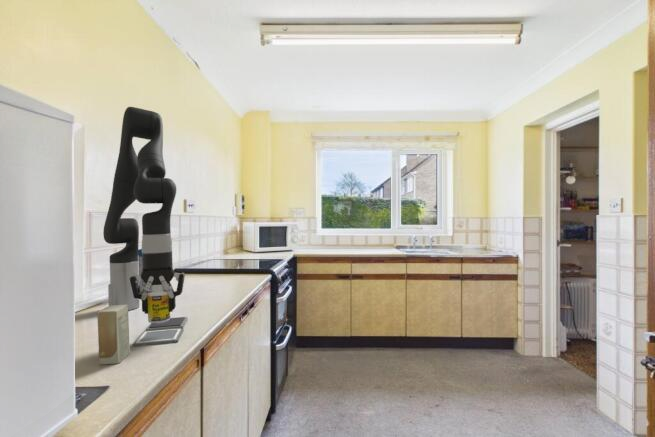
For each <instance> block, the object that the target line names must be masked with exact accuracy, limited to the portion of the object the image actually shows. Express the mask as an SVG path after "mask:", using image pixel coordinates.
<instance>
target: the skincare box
mask: <svg viewBox="0 0 655 437" xmlns="http://www.w3.org/2000/svg"><path fill="white" fill-rule="evenodd" d="M129 322H130V321H129V310H128V305H110V306H109V305H108V306H106V307H104V308H103V309H101V310H99V311H97V331H98V332H97V336H98V337H97V339H98V341H97V342H98V360H99V361H98V362H99V364H98V365H117V364H119V363H121V362H122V361H123V360H124V359H126V358H127V357H128V356H129V355H130V350H131V348H130V325H129V324H130V323H129Z"/></svg>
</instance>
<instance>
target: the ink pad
mask: <svg viewBox="0 0 655 437" xmlns="http://www.w3.org/2000/svg"><path fill="white" fill-rule="evenodd" d="M187 322H188V316H180V317H170V319H169V320H168V321H166V322H163V323H149V325H148V326H147V327H146V328H145V332H146V331H157V330H169V329H184V328H185V326H186V324H187Z"/></svg>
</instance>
